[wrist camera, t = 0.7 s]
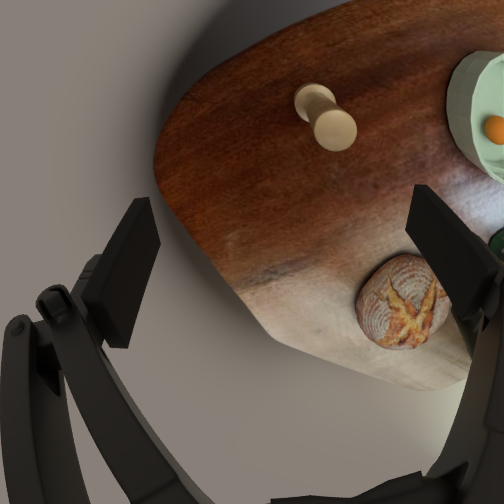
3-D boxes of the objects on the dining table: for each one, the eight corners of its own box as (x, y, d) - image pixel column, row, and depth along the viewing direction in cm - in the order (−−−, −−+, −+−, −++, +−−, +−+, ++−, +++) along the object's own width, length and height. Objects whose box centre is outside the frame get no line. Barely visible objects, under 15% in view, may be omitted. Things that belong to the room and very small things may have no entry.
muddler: (299, 77, 31) (313, 88, 17) (335, 89, 32) (378, 112, 17) (289, 111, 34) (292, 151, 19) (324, 122, 34) (354, 171, 19)
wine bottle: (453, 319, 50) (498, 456, 26) (448, 302, 48) (501, 449, 23) (477, 306, 48) (530, 439, 23) (474, 288, 46) (536, 430, 21)
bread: (438, 233, 42) (468, 272, 33) (439, 317, 51) (457, 355, 43) (342, 266, 46) (356, 312, 37) (362, 343, 55) (373, 385, 47)
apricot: (485, 107, 28) (501, 113, 25) (503, 121, 28) (519, 128, 25) (475, 132, 30) (491, 140, 27) (494, 144, 31) (509, 154, 27)
